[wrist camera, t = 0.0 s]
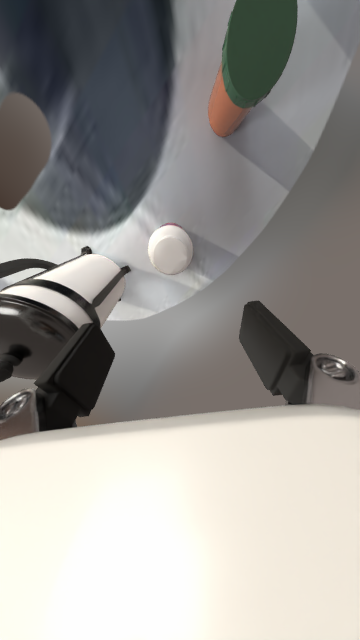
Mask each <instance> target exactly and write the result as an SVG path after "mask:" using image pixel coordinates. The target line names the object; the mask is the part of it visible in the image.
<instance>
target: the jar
mask: <svg viewBox="0 0 360 640" xmlns="http://www.w3.org/2000/svg"><path fill="white" fill-rule="evenodd" d="M221 72H222V61H221V64H220V67H219V70H218V73H217V76H216V80H215V83H214V86H213V89H212V92H211V95H210V99H209V105H208V116H209V122H210V125H211V127H212V129H213V131H214V132H215V133H216V134H217V135H219V136H221V137H226V136H229V135H231V134H232V133H233V132H234V131H235V130H236V129H237V128H238V126H239V125H240V124H241V122H242V121H243V120H244V118H245V117H246V116H247V114H248V113H249V112H250V110H251V109H252V108H253V107H250V108H244V109H242V108H240V107H238V106H236V105H235V104H233V102H232V101H231V100H230V98H229V96H228V95H227V92H225V86H224V82H223V76H222V73H221Z"/></svg>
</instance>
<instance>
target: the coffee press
mask: <svg viewBox="0 0 360 640" xmlns="http://www.w3.org/2000/svg"><path fill="white" fill-rule="evenodd" d="M86 253H87V255H85V254H86ZM83 255H84V256H83ZM81 256H82V257H81ZM78 257H79V258H78ZM78 257H76V258H77V259H76V258H73V259H71V260H69V261H66V262H64V263H62V264H63V265H62V264H59V265H57V264H54V263H51V262H48V261H44V260H39V259H17V260H12V261H8V262H5V263H1V264H0V278H3V277H6V276H8V275H11V274H14V273H17V272H19V271H22V270H25V269H29V268H44V269H47V270H45V271H43V272H40V273H38V274H36V275H33V276H31V277H29V278H26V279H24V280H22V281H19V282H17V283H15V284H12V285H10V286H7V287H5V288H4V289H2V290H1V291H0V382H2V381H4V380H6V379H8V378H10V377H11V376H13V377H18V378H24V379H38V378H39V376H40V375H41V374H42V373H43V372H44V370H45V369H46V368H47V367H48V366H49V364H50V363H51V362H52V361H53V359H54V358H55V357H56V356H57V355H58V353H59V352H60V351H61V350H62V349H63V347H64V346H65V345H66V344H67V342H68V341H69V340H70V339H71V338H72V336H73V335H74V334H75V333H76V332H77V330H78V329H79V328H80V327H81V326H82V325H83V324H86V323H95V324H97V325H98V326H99V327H100V329H101V327H102V326H103V324H104V323H105V321H106V319H107V318H108V316H109V315H110V313H111V311H112V310H113V308H114V307H115V305H116V304H117V302H118V301H121V298H120V297H121V295H122V294H123V292H124V289H125V278H124V275H125V274H126V273H128V272H130V271H131V270H130V268H129V266H125V267H123V268H121V269H120V268H119V267H118V266H117V265H116V264H115V263H114V262H113V261H112V260H110V259H109V258H107V257H104V256H102V255H98V254H92V251H91V249H90V248H89V247H88V246H86V247H83V248H82V249H81V255H80V256H78ZM74 259H75V260H74ZM67 262H68V263H67ZM60 265H61V266H60ZM46 271H47V272H46ZM44 272H45V273H44ZM42 273H43V274H42ZM39 274H40V275H39ZM37 275H38V276H37ZM35 276H36V277H35ZM32 277H33V278H32ZM30 278H31V279H30Z"/></svg>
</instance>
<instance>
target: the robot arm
mask: <svg viewBox="0 0 360 640" xmlns="http://www.w3.org/2000/svg"><path fill="white" fill-rule="evenodd" d="M239 339H240V342H241V344H242V346H243V348H244V350H245V351H246V353H247V355H248V357H249V358H250V360H251V362H252V364H253V366H254V368H255V369H256V371H257V373H258V375H259V377H260V379H261V380H262V382H263V384H264V386H265V387H266V389H267V390H270V391H271V393H272V395H273V396H274V395H283V397H284V398H285V400H286V403H285V405H284V406H272V407H261V408H250V409H240V410H230V411H221V412H211V413H202V414H192V415H182V416H174V417H164V418H154V419H145V420H136V421H127V422H118V423H109V424H100V425H91V426H82V427H77V424H76V420H75V419H76V417H77V416H79V417H84V416H89V414H90V411H91V410H92V409H93V408H94V407H95V404H96V402H97V399H98V397H99V394H100V392H101V389H102V387H103V384H104V382H105V380H106V377H107V374H108V372H109V369H110V367H111V365H112V362H113V359H114V357H115V353H114V351H113V350H112V348H111V346H110V344H109V343H108V341H107V340H106V338H105V336H104V334H103V333H102V331H101V329H100V327H99V326H98V325H97V324H95V323H86V324H83V325H82V326H81V327H80V328H79V329H78V330H77V332H76V333H75V334H74V335H73V336H72V338H71V339H70V340H69V341H68V342H67V344H66V345H65V346H64V347H63V349H62V350H61V351H60V352H59V353H58V355H57V356H56V357H55V358H54V359H53V361H52V362H51V363H50V364H49V366H48V367H47V368H46V369H45V370H44V372H43V373H42V374H41V375H40V376H39V378H38V379H37V380H36V381H35V383H34V384H35V385H36V386H38V388H37V390H34V389H32V388H27V389H23V390H21V391H19V392H17V393H15V394H13V395H12V396H10V397H9V398H8V399H7V400H5V401H4V402H3V403H2V404H1V405H0V640H360V373H359V371H358V370H357V369H356V368H355V367H354V366H353V365H351V364H350V363H349V362H347V361H345V360H343V359H341V358H339V357H336V356H334V355H329V354H316V355H313V354H312V353H311V352H310V351H311V350H310V349H309V348H308V347H307V346H305V344H304V343H303V342H301V341H300V340H299V339H298V338H297V337H296V336H295V335H294V334H293V333H292V332H291V331H290V330H289V329H288V328H287V327H286V326H285V325H284V324H283V323H282V322H280V320H279V319H277V318H276V317H275V316H274V315H273V314H272V313H271V312H270V311H269V310H268V309H267V308H266V307H265V306H264V305H263V304H262V303H261V302H260V301H252V302H248V303H247V305H245V306H244V311H243V317H242V323H241V329H240V335H239Z"/></svg>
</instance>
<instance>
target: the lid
mask: <svg viewBox="0 0 360 640" xmlns="http://www.w3.org/2000/svg"><path fill="white" fill-rule="evenodd" d="M296 26H297V0H237V1H236V3H235V6H234V9H233V12H231V16H230V19H229V22H228V28H227V32H226V36H225V40H224V44H223V48H222V50H223V52H222V72H221V73H222V76H223V82H224V86H225V92H227V95H228V96H229V98H230V100H231V101H232V102H233V104H235V105H236V106H238V107H240V108H242V109H244V108H250V107H255V105H257V104H258V103H259V102H261V101H262V100H263V99H264V98H266V96H267V95H268V94H269V93H270V91H271V89H272V88H273V86H274V85H275V84H276V82H277V81H278V79H279V78H280V76H281V74H282V72H283V70H284V68H285V66H286V64H287V62H288V59H289V56H290V53H291V50H292V46H293V43H294V38H295V33H296Z"/></svg>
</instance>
